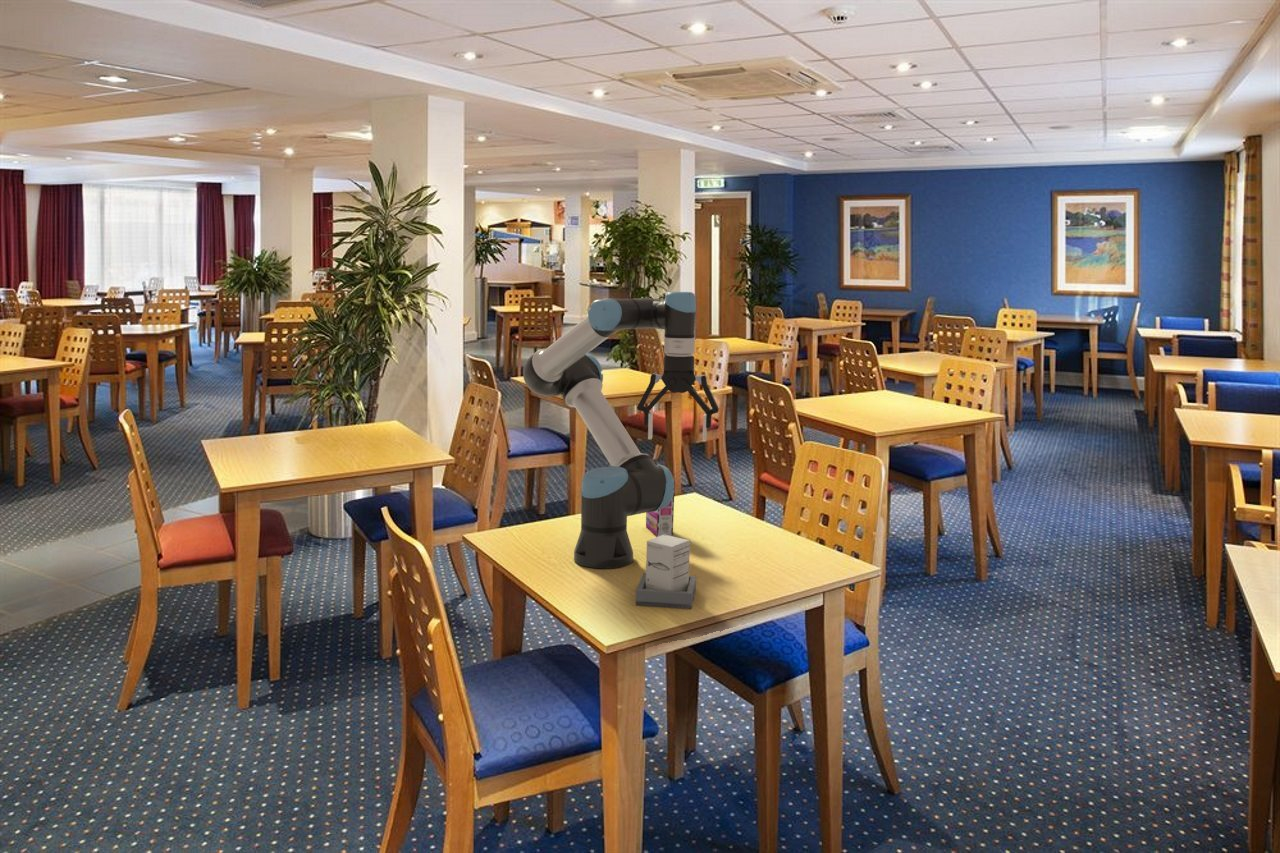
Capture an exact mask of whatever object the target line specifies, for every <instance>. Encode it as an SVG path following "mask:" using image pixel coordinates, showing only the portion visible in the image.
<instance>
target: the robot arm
mask: <svg viewBox="0 0 1280 853" xmlns="http://www.w3.org/2000/svg"><path fill="white" fill-rule="evenodd" d="M664 297H665V298H664V299H662V298H652V297H639V298H611V297H610V298H609V297H608V298H602V299H595V300H593V302H591V304H590V307H589V308H588V312H587V316H586V317H585V318H583V319H582V320H581V321H580V322H578V323H577V324H576V325H574V326H572V327H571V328H570V329H569V330H568V331H566V332H565V333H564V334H563V335H561V336H560V337H559V338H558V339H556V341H554V342H553V343H552V344H550V345H549V346H548V347H546V348H540V349H538V350H536V351H535V352H534V353H533V354H532V355H530V356H529V358H528V359H527V360H526V361H525V363H524V366H523V369H522V376H523V380H524V383H525V385H526V387H527V388H528V389H529V390H530V391H532V392H533V393H534V394H536V395H539V396H541V397H556V396H557V397H558V396H560V397H562V399H563V400H564V402H565V403H566V406H567V407H569V408H575V409H576V411H577V413H578V414H579V416H580V418H581V420H582V421H583V423H584V424H585V426H586V428H587V429H588V431H589V433H590V434H591V436H592V437H593V439H594V440H595V443H596V444H597V445H598V447H599V449H600V450H601V452H602V454H603V455H604V456H605V458H606V460H607V461H608V464H609V465H610V466H601V467H600V466H599V467H597V468H592V469H590V470H588V471H586V472H585V474H584V475H583V476H582V479H581V487H580V495H581V499H580V500H581V503H580V508H581V509H580V510H581V511H580V514H581V516H580V517H581V518H580V520H581V521H580V533H579V536H578V538H577V541H576V544H575V548H574V550H573V561H574V562H575V563H576V564H577V565H580V566H581V567H582V566H583V567H587V568H590V569H591V568H592V569H616V568H621V567H625V566H628V565H630V564H632V563H633V561H634V550H633V547H632V543H631V540H630V538H629V533H628V530H627V529H628V528H627V526H628V525H627V524H628V517H631V516H637V515H640V514H646V512H654V511H657V510H659V509H663V508H665V507H666V506H668V505H669V503H670V502H671V500H672V498H673V494H674V495H675V488H674V480H675V479H674V477H673V474H672V472H671V470H670V469H669V468H668V467H666V466H665V465H661V464H657V465H656V464H655V462H654V460H653V459H652V458H651V456H650V454H648V453H643V452H641V451H640V449H639V448H638V446H637V445H636V444H635V442H634V440H633V439H632V437H631V436H630V434H629V432H628V431H627V429H626V428H625V426H624V425H623V423H622V422H621V420H620V418H619V417H618V415H617V414H616V413H615V412H616V411H615V410H614V409H613V408H612V406H611V405H610V403H609V401H608V400H607V398H606V397H605V395H604V393H603V392H602V389H603V381H604V374H603V373H602V372H603V369H602V365H601V363H600V362H599V360H598V359H597V357H595V356H594V355H592V354H590V352H591V351H593V350H594V349H595V348H597V347H598V346H599V345H600V344H602V343H603V342H604V341H605V342H606V340H607V339H609V338H610V337H612V336H613V335H614V334H616V333H617V332H618V331H621V330H640V329H641V330H644V329H653V330H654V329H657V330H664V338H663V340H664V343H663V344H664V345H663V347H664V348H663V353H664V354H665V355H664V356H663V373H662V374H657V373H656V372H653V373H652V374H651V375H650V379H649V380H650V381H649V384H648V386H647V388H646V390H645V391H644V393H643V395H642V397H641V399H640V400H639V403H638V405H637V406H636V409H637V410H638V411H640V412H643V416H644V418H643V424H644V426H647V427H648V430H647V440H652V439H653V433H654V432H653V425H654V424H653V423H654V422H653V421H654V420H653V419H654V416H653V415H654V412H653V411H651V410H652V408H654V407H655V405H657V403H658V402H659V401H660V400H661V399H662V398H663V397H664V396H665V395H666V393H667V392H668V391H669V392H671V393H674V394H675V393H680V394H684V393H687V392H688V394H689V395H690V396H691V397H692V398H693V399H694V401H695V402H696V403H697V405H698V406H699V407H700V408H701V409H702V411H703V412H704V414H703V415H702V416H703V417H702V442H703V443H706V441H707V430H708V429H711V426H712V415H714V414H718V413H719V411H720V408H719V406H718V404H717V402H716V399H715V396H714V395H713V393H712V391H711V389H710V387H709V385H708V377H707V375H706V374H702V375H695V357H694V355H693V354H695V353H696V352H695V350H696V346H695V344H696V314H697V304H696V303H697V302H696V295H695V293H694V292H692V291H666V293H665V296H664ZM660 380H661V381H662V383H663V384H664V385H665V386H664V387H663V388H662V389H661V390H660V391H659V392H658V393H657V395H655V397H654V398H653V399H652V400H651V401H650V403H649V404H647V406H645V405H646V402H647V401H648V398H649V397H650V394H651V393H652V391H653V389H654V387H655V385H656V384H658V383H659V382H660ZM696 381H697V382H698V384H699V385H701V387H702V389H703V392H704V393H705V396H706V398H707V400H708V402H709V405H710V406H711V408H710V407H709V406H708V404H707V403H706V402H705V400H704V399H703V398H702V397H701V396H700V394H698V392H697V391H696V389H695V388H694V386H693V385H694V383H695V382H696Z"/></svg>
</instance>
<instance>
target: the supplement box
mask: <svg viewBox="0 0 1280 853" xmlns="http://www.w3.org/2000/svg"><path fill="white" fill-rule="evenodd" d="M690 551H691V539H690V540H689V539H685V538H681V537H677V536H674V535H673V536H669V535H661V536H658V537H657V536H655V537H653V538H651V539H647V541H646V554H645V555H646V562H645V564H646V565H645V573H646V589H652V590H668V591H684V592H687V589H688V584H689V576H690V554H691V552H690Z"/></svg>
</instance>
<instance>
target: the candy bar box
mask: <svg viewBox="0 0 1280 853" xmlns="http://www.w3.org/2000/svg"><path fill="white" fill-rule="evenodd" d="M675 481H676V480H675V479H674V489H675V488H676V487H675V484H676V482H675ZM674 507H675V493H674V494H673V498H672V500H671V502H670V503H669V505H668V506H666V507H665V508H663V509H659V510H657V511H654V512H646V513H645V527H646V529H648V530H649V532H651V533H652V534H654V536H655V537H658V536H661V535H669V536H673V537H674V517H675V516H674V513H675V511H674Z"/></svg>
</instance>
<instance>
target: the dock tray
mask: <svg viewBox="0 0 1280 853" xmlns="http://www.w3.org/2000/svg"><path fill="white" fill-rule="evenodd" d="M696 591H697V575H689V584H688V589H687V592H684V591H668V590H652V589H646V572H643V573H642V575H641V578H640V580H639V583H638V585H637V587H636V589H635V606H639V607H653V608H654V607H656V608H668V609H669V608H670V609H683V610H684V609H687V610H692V608H693V603H694V601H695V595H696Z"/></svg>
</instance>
